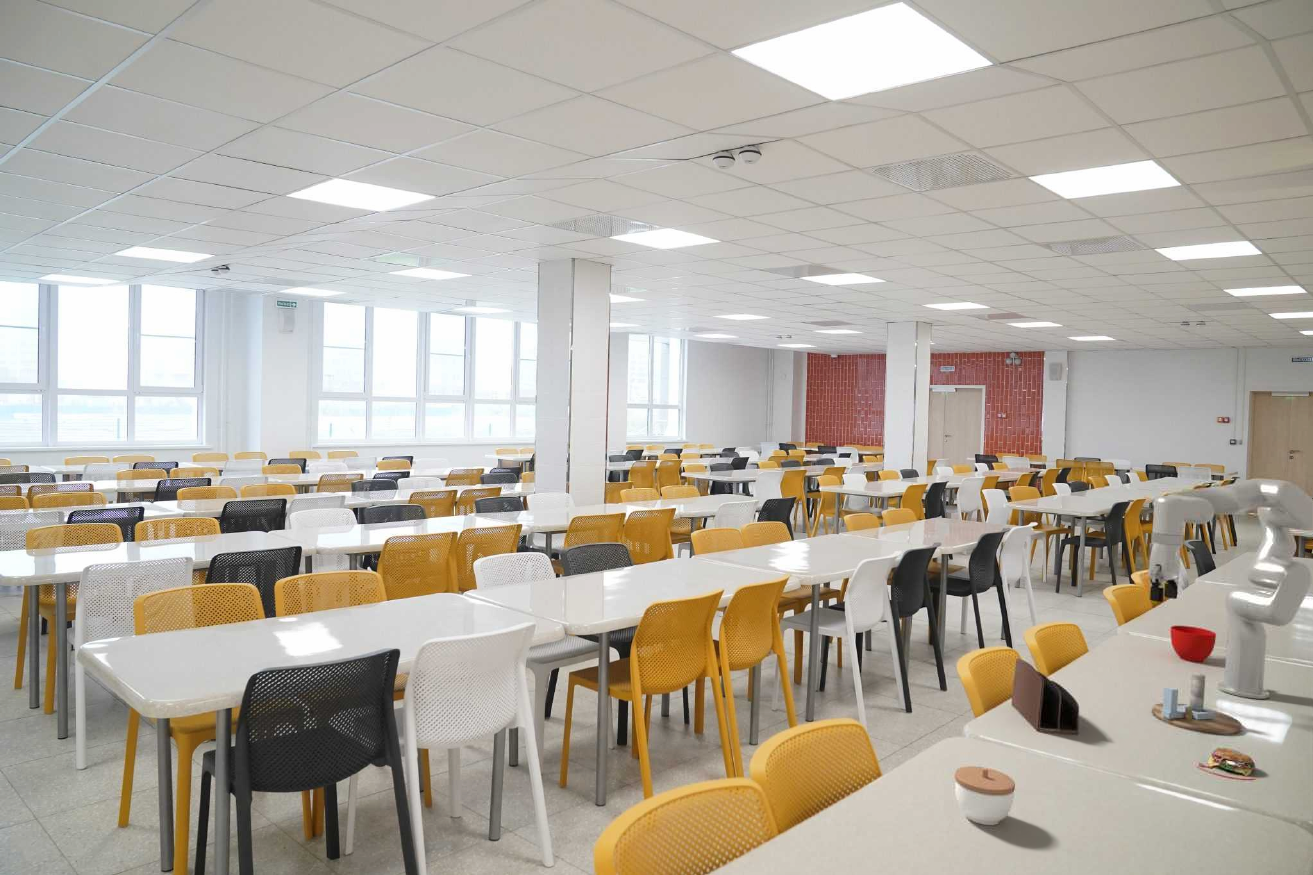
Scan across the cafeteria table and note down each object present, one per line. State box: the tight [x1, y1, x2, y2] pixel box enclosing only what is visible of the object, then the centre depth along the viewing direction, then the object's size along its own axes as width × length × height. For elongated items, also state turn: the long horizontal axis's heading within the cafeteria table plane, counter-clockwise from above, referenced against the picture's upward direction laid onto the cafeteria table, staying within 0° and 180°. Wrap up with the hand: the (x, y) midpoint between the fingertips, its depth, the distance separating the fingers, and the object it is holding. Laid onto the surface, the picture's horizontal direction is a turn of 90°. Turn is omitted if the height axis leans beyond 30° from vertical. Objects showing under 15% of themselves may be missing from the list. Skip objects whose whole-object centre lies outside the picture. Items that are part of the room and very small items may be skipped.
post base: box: [1151, 672, 1243, 736], centre depth 223 cm, size 20×20×12 cm
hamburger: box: [1195, 747, 1257, 781], centre depth 192 cm, size 14×14×6 cm
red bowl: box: [1170, 625, 1217, 663], centre depth 287 cm, size 13×17×10 cm
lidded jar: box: [954, 765, 1016, 826], centre depth 161 cm, size 11×11×9 cm
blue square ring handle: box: [1161, 686, 1215, 720], centre depth 222 cm, size 14×6×8 cm, turn 106°
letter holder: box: [1011, 658, 1080, 736], centre depth 218 cm, size 10×20×14 cm, turn 175°
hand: (1163, 599), depth 241 cm, fingers open, 9 cm apart
